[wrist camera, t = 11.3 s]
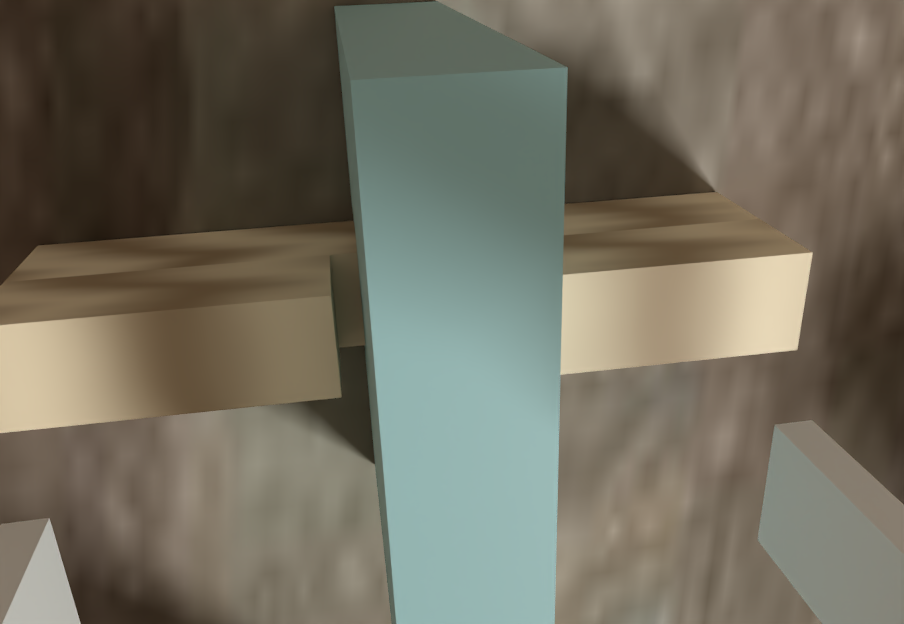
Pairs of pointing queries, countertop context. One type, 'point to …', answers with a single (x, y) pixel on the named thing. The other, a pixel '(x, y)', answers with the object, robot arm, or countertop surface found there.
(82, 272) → the notched wooden beam
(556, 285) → the pale teal block
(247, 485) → the countertop surface
